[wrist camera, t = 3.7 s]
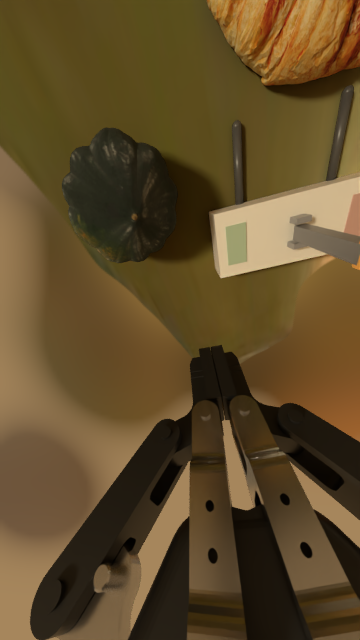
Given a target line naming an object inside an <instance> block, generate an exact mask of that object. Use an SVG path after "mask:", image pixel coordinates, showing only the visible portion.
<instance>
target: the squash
mask: <svg viewBox="0 0 360 640" xmlns="http://www.w3.org/2000/svg"><path fill="white" fill-rule="evenodd" d="M62 190H63V194H64V197H65V200H66V201H67V203H68V204H69V210H68V214H69V218H70V221H71V224H72V226H73V228H74V231H75V232H76V234H77V235H78V236H79V237H80V238H81V239H82V240H84V241H85V242H86V243H88V244H89V245H90V246H92V247H95V248H96V249H97V250H98V251H99V253H100V254H101V255H103V256H104V257H105V258H106V259H108V260H110V261H113V262H117V263H123V262H127V261H130V260H131V261H135V262H140V261H144V260H145V259H146V258H147V257H148V256H149V254H150V253H153V252H156V251H158V250H160V249H161V248H162V247H163V246H164V244H165V241H166V238H167V237H169V235H170V234H171V233H172V232H173V230H174V229H175V225H176V211H175V206H176V201H177V196H178V193H177V188H176V185H175V184H174V182H173V181H172V180H171V178H170V177H169V175H168V169H167V166H166V163H165V161H164V159H163V158H162V156H161V154H160V152H159V151H158V150H157V149H156V148H154V147H153V146H150V145H148V144H146V143H137V142H135V141H134V140H133V139H132V138H131V137H130V136H128V135H127V134H125V133H123V132H122V131H121V130H119V129H116V128H103V129H102V130H101V131H100V132H99V133H98V134H96V135H95V137H94V138H93V139H92V141H91V144H90V146H82V147H79V148H76V149H75V150H74V151H73V152H72V154H71V157H70V173H69V174H67V175H66V176H65V178H64V179H63V182H62Z"/></svg>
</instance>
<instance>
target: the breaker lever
mask: <svg viewBox="0 0 360 640" xmlns="http://www.w3.org/2000/svg"><path fill="white" fill-rule="evenodd" d="M293 240H294V241H296V242H299V243H301V244H304V245H306V246H309V247H311V248H314V249H316V250H319V251H321V252H324V253H326V254H329V255H331V256H334V257H336V258H339V259H341V260H344V261H346V262H349V263H352V267H354V268H356V269H358V270H360V236H357V235H352V234H348V233H344V232H340V231H335V230H331V229H327V228H323V227H318V226H314V225H310V224H300V225H296V226H294V234H293Z"/></svg>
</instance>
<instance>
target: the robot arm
mask: <svg viewBox="0 0 360 640" xmlns="http://www.w3.org/2000/svg"><path fill="white" fill-rule="evenodd" d="M199 353H200V357H197V358H192V361H191V363H190V372H191V383H192V394H193V406H192V409H191V411H190V412H189V413H188V414H187V415H186V416H185V417H182V418H180V419H178V420H177V421H174V420H171V419H164V420H161V421H160V422H159V423H157V424H156V426H155V427H154V428H153V430H152V431H151V433H150V434H149V435H148V436H147V438H146V439H145V441H144V442H143V443H142V445H141V446H140V447H139V449H138V450H137V451H136V453H135V454H134V456H133V457H132V458H131V460H130V461H129V462H128V464H127V465H126V467H125V468H124V469H123V471H122V472H121V473H120V475H119V476H118V477H117V479H116V480H115V481H114V483H113V484H112V485H111V487H110V488H109V490H108V491H107V492H106V494H105V495H104V496H103V498H102V499H101V500H100V502H99V503H98V504H97V506H96V507H95V509H94V510H93V511H92V513H91V514H90V515H89V517H88V518H87V520H86V521H85V522H84V523H83V525H82V526H81V528H80V529H79V530H78V532H77V533H76V534H75V536H74V537H73V538H72V540H71V541H70V543H69V544H68V545H67V547H66V548H65V549H64V551H63V552H62V554H61V555H60V556H59V558H58V559H57V560H56V562H55V563H54V564H53V566H52V567H51V568H50V570H49V571H48V573H47V574H46V575H45V577H44V578H43V580H42V582H41V584H40V586H39V588H38V590H37V593H36V595H35V598H34V601H33V604H32V609H31V617H30V625H31V630H32V633H33V635H34V637H35V638H36V639H39V640H46V639H49V638H53V637H57V638H59V639H60V640H360V548H359V547H358V546H357V545H356V544H355V543H353V541H352V540H351V539H350V538H348V537H347V536H346V535H345V534H344V533H343V532H342V531H341V530H340V529H339V528H338V527H337V526H336V525H335V524H334V523H333V522H331V521H330V520H329V519H328V518H326V517H325V516H324V515H322V514H321V513H319V512H318V511H316V510H314V509H313V508H312V506H311V504H310V502H309V500H308V498H307V496H306V494H305V492H304V490H303V488H302V486H301V484H300V482H299V480H298V478H297V476H296V474H295V472H294V470H293V468H292V466H291V464H290V462H291V463H292V464H293V465H295V466H296V467H297V468H298V469H299V470H301V471H302V472H303V473H304V474H306V475H307V476H308V477H309V478H310V479H312V480H313V481H314V482H315V483H316V484H317V485H319V486H320V487H321V488H322V489H323V490H325V491H326V492H327V493H328V494H329V495H331V496H332V497H333V498H334V499H335V500H336V501H338V502H339V503H340V504H341V505H342V506H343V507H345V508H346V509H347V510H348V511H349V512H351V513H352V514H353V515H354V516H355V517H357V518H358V519H359V520H360V442H359V441H357V440H355V439H354V438H352V437H351V436H349V435H347V434H346V433H344V432H342V431H341V430H339V429H338V428H336V427H334V426H333V425H331V424H329V423H328V422H326V421H324V420H323V419H321V418H320V417H318V416H316V415H314V414H313V413H311V412H310V411H308V410H307V409H305V408H303V407H301V406H300V405H297V404H294V403H287V404H283V405H282V406H281V407H280V408H279V407H273V406H267V405H264V404H262V403H259V402H258V401H257V400H255V399H254V398H253V396H252V395H251V393H250V390H249V388H248V385H247V382H246V380H245V377H244V375H243V372H242V370H241V367H240V364H239V361H238V359H237V357H236V356H235V355H234V354H233V353H232V352H227V353H224V351H223V348H222V345H219V346H213V347H211V351H210V347H207V348H201V349H199ZM211 354H212V355H211ZM223 411H224V414H223ZM224 416H225V420H230V424H231V428H232V435H233V438H234V442H235V445H236V448H237V451H238V454H239V458H240V461H241V464H242V467H243V470H244V474H245V477H246V481H247V486H248V489H249V493H250V496H251V500H252V503H253V506H254V508H252V509H251V510H242V509H238V508H234V507H232V501H231V494H230V486H229V480H228V472H227V464H226V457H225V449H224V441H223V435H224V433H223V426H222V421H223V420H224ZM190 460H191V462H190V516H189V517H188V518H187V519H186V520H185V521H184V522H183V523H182V524H181V526H180V527H179V528H178V530H177V532H176V533H175V535H174V537H173V539H172V542H171V544H170V546H169V548H168V550H167V553H166V555H165V557H164V559H163V562H162V564H161V566H160V568H159V571H158V573H157V575H156V577H155V580H154V582H153V584H152V586H151V588H150V591H149V593H148V595H147V597H146V600H145V602H144V604H143V606H142V609H141V611H140V613H139V615H138V618H137V620H136V622H135V624H134V627H133V629H132V631H131V632H130V619H131V611H132V606H133V603H134V600H135V597H136V595H137V592H138V589H139V585H140V580H141V564H140V560H139V557H138V555H137V554H138V553H139V551H140V549H141V547H142V545H143V543H144V542H145V540H146V538H147V536H148V534H149V533H150V531H151V529H152V527H153V525H154V523H155V522H156V520H157V518H158V516H159V514H160V513H161V511H162V509H163V507H164V505H165V503H166V501H167V500H168V498H169V496H170V494H171V492H172V491H173V489H174V487H175V485H176V483H177V482H178V480H179V478H180V476H181V474H182V472H183V470H184V469H185V467H186V465H187V463H188V461H190ZM289 461H290V462H289Z"/></svg>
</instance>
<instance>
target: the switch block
mask: <svg viewBox="0 0 360 640" xmlns="http://www.w3.org/2000/svg"><path fill="white" fill-rule="evenodd" d="M353 91H354V87H353V86H352V85H349V86H347V87H346V88H345V89H344V90H343V92H342V94H341V100H340V105H339V111H338V117H337V122H336V128H335V133H334V139H333V145H332V150H331V156H330V161H329V167H328V173H327V178H326V181H324V182H320V183H316V184H312V185H309V186H305V187H301V188H297V189H293V190H290V191H286V192H282V193H278V194H274V195H271V196H267V197H263V198H259V199H255V200H252V201H248V202H244V203H243V167H242V131H241V122H240V121H239V120H236V121H235V122H234V123H233V125H232V137H233V158H234V179H235V200H236V205H233V206H229V207H225V208H221V209H217V210H214V211H210V212H209V219H210V228H211V236H212V244H213V252H214V260H215V269H216V270H217V272H218V274H219V276H220V278H224V277H228V276H233V275H237V274H242V273H246V272H251V271H255V270H260V269H264V268H269V267H273V266H277V265H282V264H286V263H291V262H295V261H300V260H304V259H309V258H313V257H318V256H322V255H327V254H326V253H324V252H321V251H319V250H316V249H314V248H311V247H309V246H306V245H304V244H301V243H299V242H296V241H294V240H293V234H294V226H296V225H300V224H310V225H314V226H318V227H323V228H327V229H331V230H335V231H340V232H344V233H348V234H352V235H357V236H360V172H358V173H354V174H350V175H347V176H343V177H339V178H336V176H337V171H338V166H339V161H340V156H341V151H342V146H343V141H344V136H345V131H346V126H347V121H348V116H349V111H350V106H351V101H352V96H353Z"/></svg>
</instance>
